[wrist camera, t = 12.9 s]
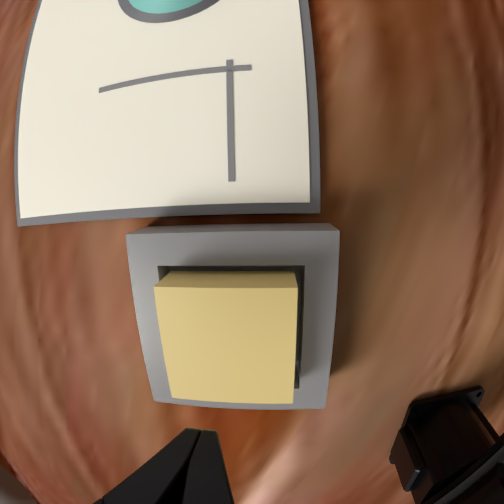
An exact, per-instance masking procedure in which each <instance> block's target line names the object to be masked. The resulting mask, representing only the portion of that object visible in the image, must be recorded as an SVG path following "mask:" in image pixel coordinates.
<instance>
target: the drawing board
mask: <svg viewBox="0 0 504 504" xmlns="http://www.w3.org/2000/svg"><path fill="white" fill-rule="evenodd" d="M14 175H15V199H16V213H17V224H18V227H19V226H29V225H41V224H52V223H65V222H78V221H92V220H108V219H125V218H143V217H164V216H189V215H221V214H274V213H320V149H319V123H318V104H317V88H316V74H315V61H314V50H313V40H312V30H311V21H310V12H309V4H308V0H39V2H38V5H37V8H36V12H35V15H34V19H33V22H32V26H31V30H30V34H29V38H28V43H27V47H26V52H25V57H24V62H23V68H22V74H21V80H20V87H19V95H18V104H17V114H16V127H15V152H14Z"/></svg>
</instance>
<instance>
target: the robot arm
mask: <svg viewBox="0 0 504 504" xmlns="http://www.w3.org/2000/svg"><path fill="white" fill-rule="evenodd" d="M483 394H484V389H483V388H482V387H481V386H477V387H474V388H470V389H466V390H462V391H458V392H454V393H450V394H445V395H441V396H436V397H431V398H426V399H421V400H416V401H413V402H412V403H411V404H410V405H409V407H408V409H407V412H406V415H405V418H404V421H403V424H402V427H401V428H400V430H399V431H398V434H397V437H396V439H395V442H394V444H393V447H392V449H391V455H390V457H389V460H390V463H391V464H395V466H396V469H397V472H398V475H399V478H400V481H401V484H402V487H403V490H405V491H406V492H409V491H411V493H412V496H413V499H414V502H415V504H504V433H503V434H502V435H501V436H500V437H499V436H498V434H497V433H496V431H495V430H494V429H493V427H492V426H491V424H490V423H489V422H488V420H487V419H486V417H485V416H484V415H483V413H482V412H481V411H480V409H479V408H478V406H479V403H480V401H481V399H482V396H483ZM93 504H235V503H234V500H233V496H232V492H231V488H230V484H229V480H228V476H227V471H226V467H225V463H224V459H223V454H222V450H221V445H220V441H219V436H218V432H217V431H216V430H209V429H203V430H201V429H198V428H186V429H184V430H183V431H182V432H181V433H180V434H179V435H178V436H176V437H175V438H174V439H173V440H172V441H171V442H170V443H168V444H167V445H166V446H165V447H164V448H163V449H161V450H160V451H159V452H158V453H157V454H156V455H154V456H153V457H152V458H151V459H150V460H148V461H147V462H146V463H145V464H144V465H142V466H141V467H140V468H139V469H137V470H136V471H135V472H134V473H132V474H131V475H130V476H129V477H127V478H126V479H125V480H124V481H122V482H121V483H120V484H119V485H117V486H116V487H115V488H113V489H112V490H111V491H109V492H108V493H107V494H106V495H104V496H103V497H102V499H101V498H100V499H99V500H97V501H96V502H95V503H93Z"/></svg>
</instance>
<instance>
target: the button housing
mask: <svg viewBox="0 0 504 504" xmlns="http://www.w3.org/2000/svg"><path fill="white" fill-rule="evenodd" d="M126 242H127V252H128V261H129V269H130V277H131V285H132V292H133V299H134V305H135V311H136V317H137V323H138V329H139V334H140V340H141V345H142V350H143V355H144V359H145V364H146V369H147V373H148V377H149V382H150V386H151V390H152V394H153V398H154V401H158V402H165V403H173V404H182V405H192V406H203V407H216V408H233V409H269V410H280V409H316V408H325V405H326V398H327V391H328V383H329V375H330V366H331V358H332V348H333V338H334V327H335V315H336V302H337V286H338V268H339V242H340V231H339V230H338V229H337V228H335V227H334V226H333V225H331V224H330V223H255V224H206V225H172V226H146V227H144V228H141V229H138V230H136V231H133V232H131V233H128V234H126ZM171 271H294V273H295V277H296V282H297V287H298V298H297V331H296V355H295V375H294V393H293V403H292V404H258V403H229V402H213V401H200V400H189V399H179V398H172V395H171V391H170V386H169V381H168V376H167V371H166V365H165V360H164V354H163V348H162V343H161V336H160V330H159V324H158V317H157V310H156V303H155V295H154V286H155V285H156V284H157V283H158V282H159V281H160V280H162V279H163V278H164V277H165V276H166V275H167V274H168V273H169V272H171Z"/></svg>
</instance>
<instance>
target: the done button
mask: <svg viewBox="0 0 504 504" xmlns="http://www.w3.org/2000/svg"><path fill="white" fill-rule="evenodd" d="M154 295H155V303H156V310H157V317H158V324H159V330H160V336H161V343H162V348H163V354H164V360H165V365H166V371H167V376H168V381H169V386H170V391H171V395H172V398H179V399H189V400H200V401H213V402H229V403H258V404H292V403H293V393H294V375H295V355H296V331H297V298H298V287H297V282H296V277H295V273H294V271H171V272H169V273H168V274H167V275H166V276H165V277H164V278H163V279H162V280H160V281H159V282H158V283H157V284H156V285H155V286H154Z"/></svg>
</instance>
